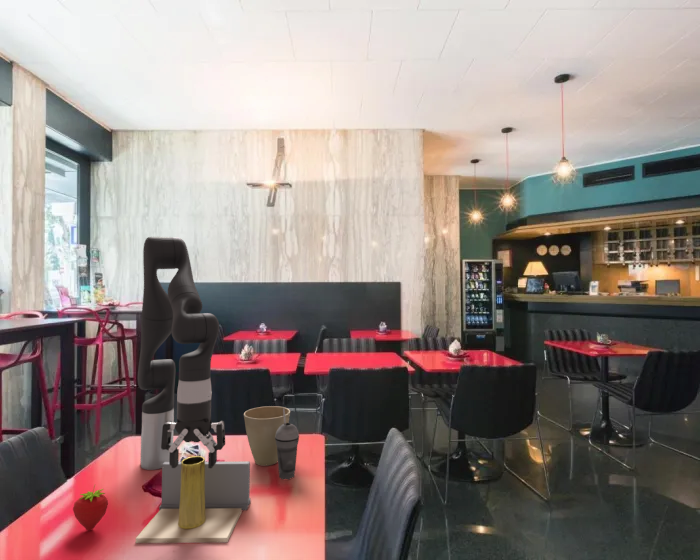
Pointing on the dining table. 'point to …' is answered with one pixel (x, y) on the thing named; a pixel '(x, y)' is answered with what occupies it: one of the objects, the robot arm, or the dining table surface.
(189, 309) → the robot arm
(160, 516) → the board
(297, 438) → the beverage cup
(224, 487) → the screen
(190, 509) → the vase
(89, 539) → the dining table surface
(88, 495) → the strawberry
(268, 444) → the plant pot
